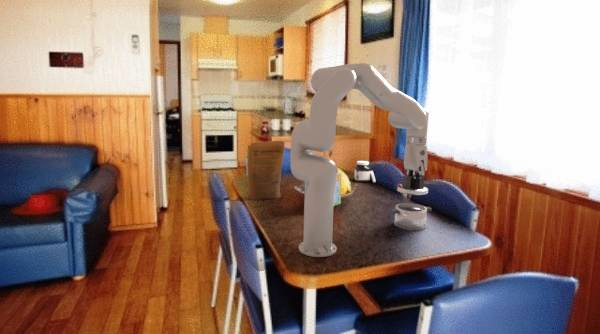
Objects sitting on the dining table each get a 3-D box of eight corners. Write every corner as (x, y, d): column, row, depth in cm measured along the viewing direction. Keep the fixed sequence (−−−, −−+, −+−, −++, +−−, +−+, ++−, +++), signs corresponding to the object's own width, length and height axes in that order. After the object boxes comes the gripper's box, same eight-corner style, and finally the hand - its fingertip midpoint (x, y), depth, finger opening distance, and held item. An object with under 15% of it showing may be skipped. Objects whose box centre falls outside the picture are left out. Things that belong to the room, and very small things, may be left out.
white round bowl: (434, 194, 156) (435, 178, 155) (407, 195, 153) (408, 179, 151) (417, 186, 167) (418, 172, 165) (392, 188, 163) (393, 173, 162)
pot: (437, 228, 159) (439, 210, 158) (398, 232, 154) (399, 212, 153) (420, 219, 170) (421, 201, 169) (383, 222, 166) (384, 204, 164)
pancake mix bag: (286, 198, 197) (287, 141, 192) (248, 202, 190) (247, 142, 185) (281, 195, 204) (282, 139, 198) (244, 198, 197) (244, 140, 191)
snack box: (331, 202, 194) (332, 171, 191) (341, 204, 190) (342, 172, 187) (303, 211, 178) (304, 178, 175) (313, 214, 174) (314, 180, 171)
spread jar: (352, 179, 242) (353, 160, 240) (369, 178, 245) (370, 159, 243) (361, 184, 231) (362, 164, 229) (379, 183, 234) (380, 163, 232)
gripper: (437, 143, 149) (433, 192, 153) (413, 138, 164) (410, 182, 168) (419, 143, 147) (415, 193, 151) (396, 138, 162) (394, 183, 166)
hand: (412, 187), depth 159 cm, fingers closed on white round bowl, 2 cm apart
